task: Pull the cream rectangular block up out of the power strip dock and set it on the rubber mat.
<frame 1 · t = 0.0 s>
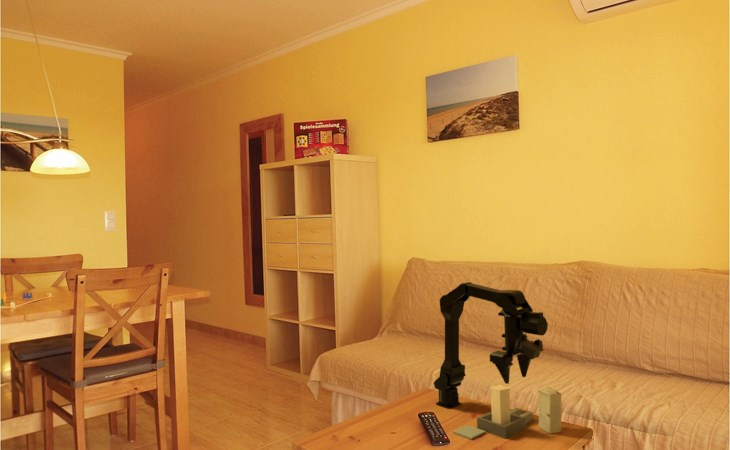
hand: (515, 380, 171), 15 cm above the table, tool pointing down, fingers open, 9 cm apart
power strip dock: (501, 428, 170), on the table
cream rectangular block: (500, 408, 170), in the power strip dock
rubber mat: (469, 433, 168), on the table
skincare box: (550, 430, 168), on the table
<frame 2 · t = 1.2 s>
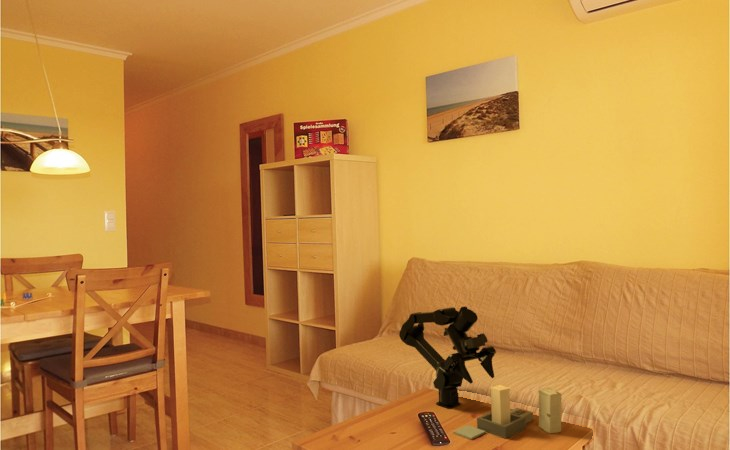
hand: (482, 380, 177), 13 cm above the table, tool tilted 45°, fingers open, 9 cm apart
nothing on the table moved.
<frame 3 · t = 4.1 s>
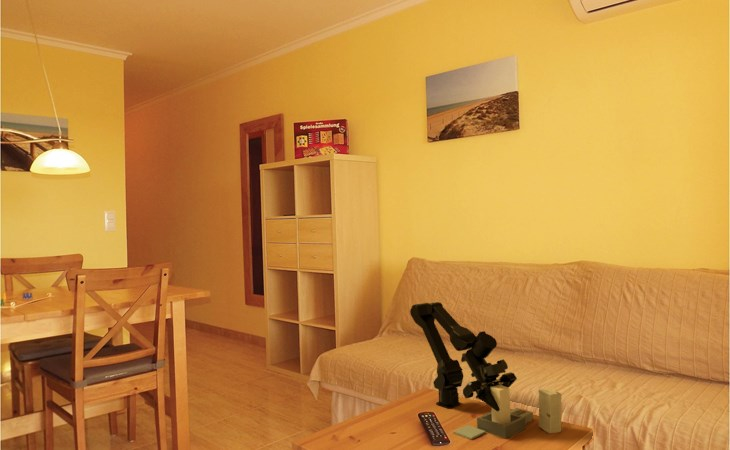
hand: (503, 409, 169), 7 cm above the table, tool tilted 45°, fingers closed on cream rectangular block, 4 cm apart
cream rectangular block: (500, 408, 170), in the power strip dock, touching gripper
everything else where it was.
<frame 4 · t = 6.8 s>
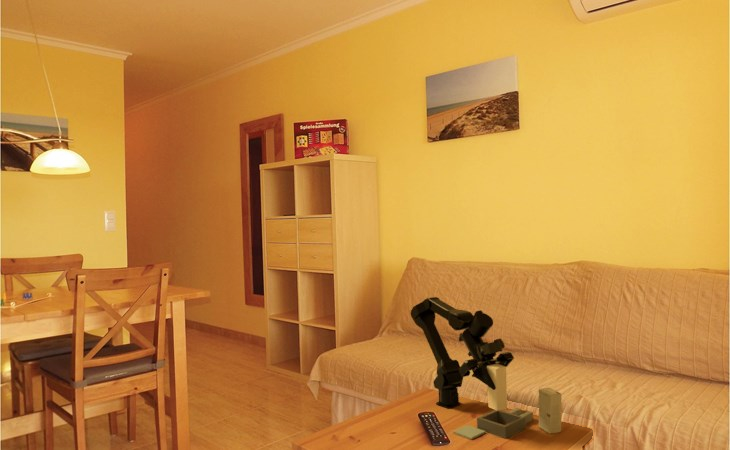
hand: (500, 387, 168), 13 cm above the table, tool tilted 45°, fingers closed on cream rectangular block, 4 cm apart
cream rectangular block: (497, 386, 170), point 13 cm above the table, touching gripper
everything else where it was.
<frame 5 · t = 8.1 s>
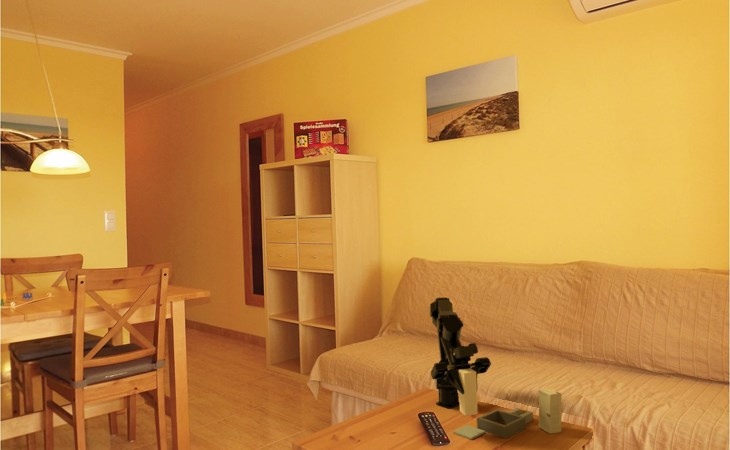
hand: (469, 392, 166), 13 cm above the table, tool tilted 45°, fingers closed on cream rectangular block, 4 cm apart
cream rectangular block: (467, 391, 168), point 13 cm above the table, touching gripper
everything else where it was.
when the fingers open (9 cm above the table, at t = 9.3 s): cream rectangular block drops 1 cm, resting on rubber mat.
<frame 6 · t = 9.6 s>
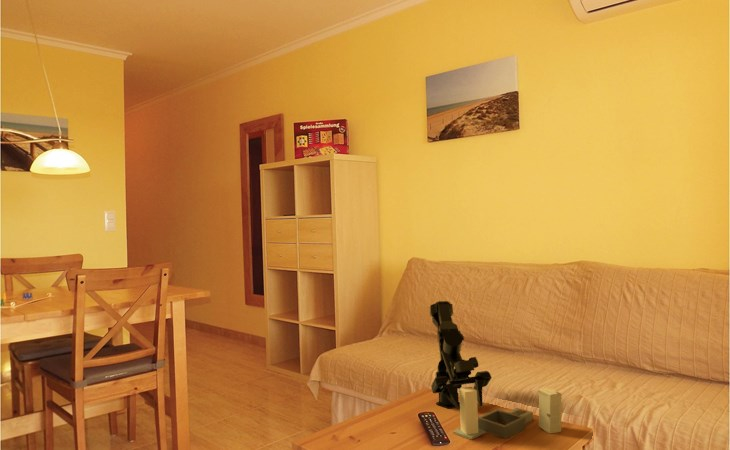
hand: (470, 407, 166), 9 cm above the table, tool tilted 45°, fingers open, 7 cm apart
cream rectangular block: (468, 410, 168), on the rubber mat, point 7 cm above the table
everything else where it was.
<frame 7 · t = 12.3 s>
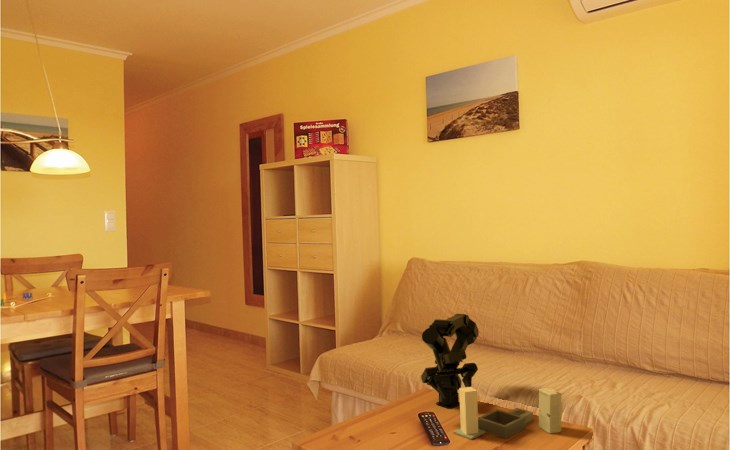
hand: (458, 396, 176), 9 cm above the table, tool tilted 45°, fingers open, 9 cm apart
nothing on the table moved.
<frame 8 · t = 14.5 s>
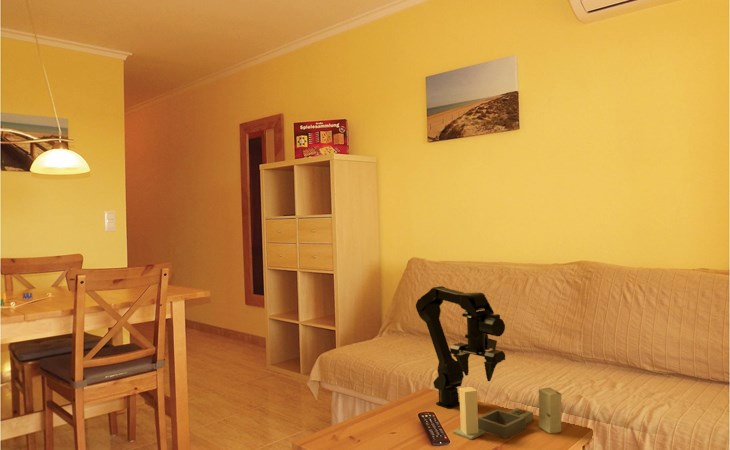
hand: (477, 378, 180), 13 cm above the table, tool pointing down, fingers open, 9 cm apart
nothing on the table moved.
at the end: cream rectangular block inside the target area on the rubber mat (0.1 cm from its centre), point 7.1 cm above the rubber mat's base; cream rectangular block tilted 0°; the gripper is holding nothing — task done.
